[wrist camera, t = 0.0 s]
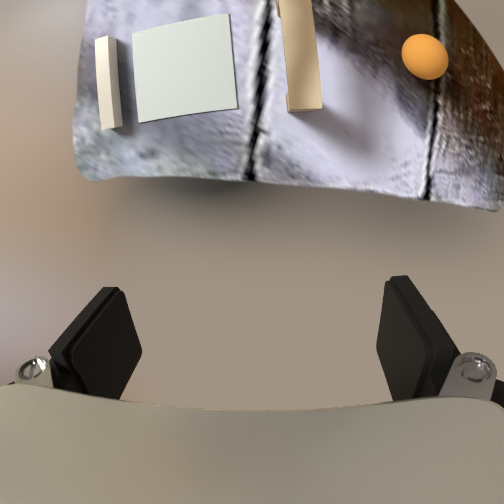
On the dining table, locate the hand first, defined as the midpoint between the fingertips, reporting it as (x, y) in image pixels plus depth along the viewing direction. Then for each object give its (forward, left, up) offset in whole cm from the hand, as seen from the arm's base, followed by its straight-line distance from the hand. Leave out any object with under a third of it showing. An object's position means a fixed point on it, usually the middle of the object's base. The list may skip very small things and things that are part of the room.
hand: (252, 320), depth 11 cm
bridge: (-15, +4, -31) cm, 35 cm away
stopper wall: (-15, -20, -31) cm, 40 cm away
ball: (-15, +20, -28) cm, 38 cm away
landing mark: (-15, -10, -31) cm, 36 cm away
